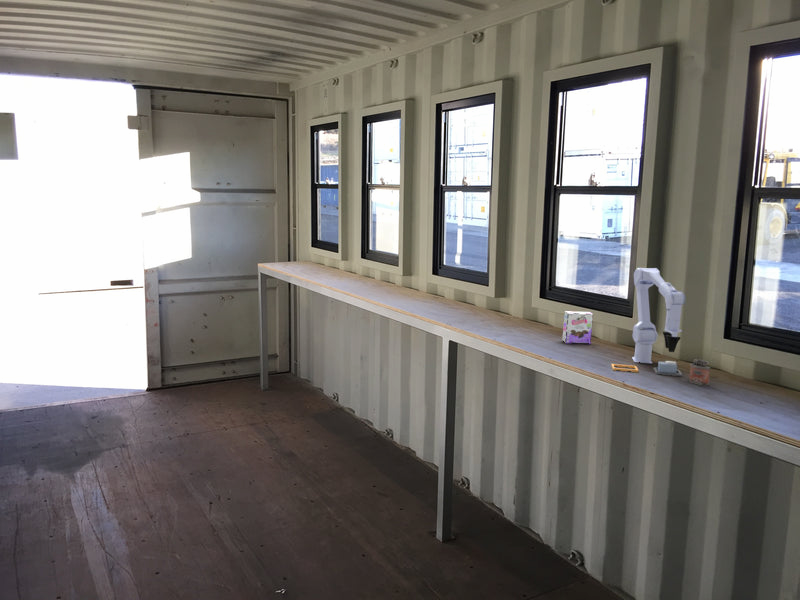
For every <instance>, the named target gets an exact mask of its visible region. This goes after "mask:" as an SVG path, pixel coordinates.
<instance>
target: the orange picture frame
mask: <svg viewBox="0 0 800 600" xmlns="http://www.w3.org/2000/svg"><path fill="white" fill-rule="evenodd" d="M610 366H611V368H612V370H613V371H616V370H620V372H627V371H631V372H630V373H639V369H638V367H637V366H636V365H631V364H630V365H628V364H618V363H611V365H610ZM614 366H617V367H614ZM625 367H628V368H625ZM634 368H635V369H634Z"/></svg>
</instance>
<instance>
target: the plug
mask: <svg viewBox="0 0 800 600" xmlns="http://www.w3.org/2000/svg"><path fill="white" fill-rule="evenodd" d="M657 368H658V370H657V371H658V372H667V373H677V370H678V369H677V368H678V365H677V361H671V360H665V361H658V363H657Z"/></svg>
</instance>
